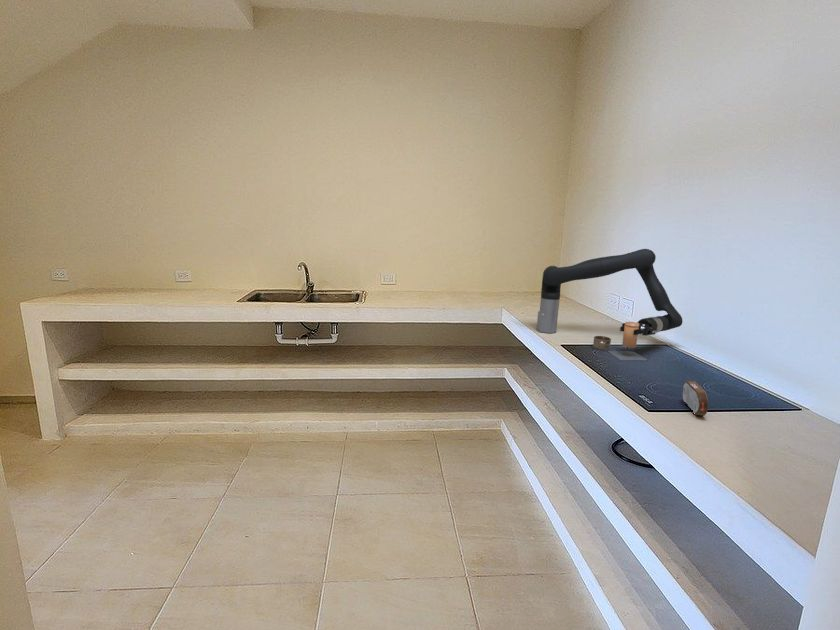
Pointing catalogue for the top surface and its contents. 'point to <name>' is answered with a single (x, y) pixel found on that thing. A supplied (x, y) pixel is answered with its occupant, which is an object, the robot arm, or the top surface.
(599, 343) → the canister
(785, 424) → the top surface
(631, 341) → the tan cylinder
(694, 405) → the tin
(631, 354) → the mat
